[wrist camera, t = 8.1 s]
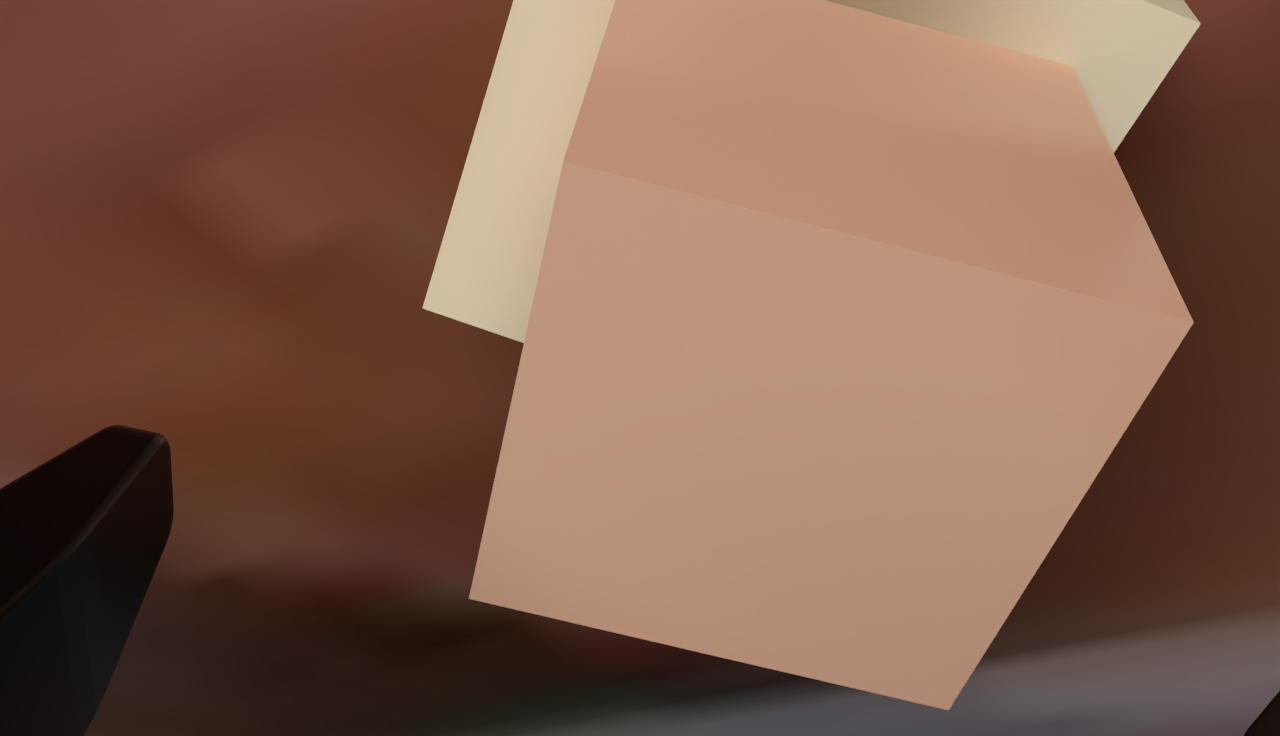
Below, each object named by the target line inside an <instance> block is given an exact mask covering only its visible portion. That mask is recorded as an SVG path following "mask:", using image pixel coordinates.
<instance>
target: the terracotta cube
mask: <svg viewBox="0 0 1280 736" xmlns="http://www.w3.org/2000/svg"><path fill="white" fill-rule="evenodd" d="M1193 323H1194V322H1193V320H1192V318H1191V316H1190V314H1189V312H1188V309H1187V307H1186V305H1185V303H1184V301H1183V299H1182V297H1181V295H1180V293H1179V290H1178V288H1177V286H1176V284H1175V282H1174V280H1173V278H1172V276H1171V274H1170V271H1169V269H1168V267H1167V265H1166V263H1165V261H1164V259H1163V257H1162V255H1161V252H1160V250H1159V248H1158V246H1157V244H1156V242H1155V240H1154V238H1153V236H1152V233H1151V231H1150V229H1149V227H1148V225H1147V223H1146V221H1145V219H1144V217H1143V214H1142V212H1141V210H1140V208H1139V206H1138V204H1137V202H1136V200H1135V198H1134V195H1133V193H1132V191H1131V189H1130V187H1129V185H1128V183H1127V181H1126V179H1125V176H1124V174H1123V172H1122V170H1121V168H1120V166H1119V164H1118V162H1117V160H1116V157H1115V155H1114V153H1113V151H1112V149H1111V147H1110V145H1109V143H1108V141H1107V138H1106V136H1105V134H1104V132H1103V130H1102V128H1101V126H1100V124H1099V122H1098V119H1097V117H1096V115H1095V113H1094V111H1093V109H1092V107H1091V105H1090V103H1089V100H1088V98H1087V96H1086V94H1085V92H1084V90H1083V88H1082V86H1081V84H1080V81H1079V79H1078V77H1077V75H1076V73H1075V71H1074V69H1073V67H1072V66H1069V65H1065V64H1062V63H1058V62H1054V61H1050V60H1047V59H1043V58H1039V57H1035V56H1032V55H1028V54H1024V53H1020V52H1017V51H1013V50H1009V49H1006V48H1002V47H998V46H994V45H991V44H987V43H983V42H979V41H976V40H972V39H968V38H964V37H961V36H957V35H953V34H949V33H946V32H942V31H938V30H934V29H931V28H927V27H923V26H919V25H916V24H912V23H908V22H905V21H901V20H897V19H893V18H890V17H886V16H882V15H878V14H875V13H871V12H867V11H863V10H860V9H856V8H852V7H848V6H845V5H841V4H837V3H833V2H830V1H826V0H615V3H614V6H613V9H612V12H611V16H610V19H609V22H608V25H607V28H606V31H605V34H604V37H603V40H602V43H601V46H600V49H599V53H598V56H597V59H596V62H595V65H594V68H593V71H592V74H591V77H590V80H589V83H588V86H587V89H586V93H585V96H584V99H583V102H582V105H581V108H580V111H579V114H578V117H577V120H576V123H575V126H574V130H573V133H572V136H571V139H570V142H569V145H568V148H567V151H566V154H565V157H564V160H563V165H562V169H561V174H560V179H559V183H558V188H557V192H556V197H555V202H554V206H553V211H552V216H551V220H550V225H549V230H548V234H547V239H546V243H545V248H544V253H543V257H542V262H541V267H540V271H539V276H538V281H537V285H536V290H535V294H534V299H533V304H532V308H531V313H530V318H529V322H528V327H527V332H526V336H525V341H524V346H523V350H522V355H521V359H520V364H519V369H518V373H517V378H516V383H515V387H514V392H513V397H512V401H511V406H510V410H509V415H508V420H507V424H506V429H505V434H504V438H503V443H502V448H501V452H500V457H499V461H498V466H497V471H496V475H495V480H494V485H493V489H492V494H491V499H490V503H489V508H488V513H487V517H486V522H485V526H484V531H483V536H482V540H481V545H480V550H479V554H478V559H477V564H476V568H475V573H474V577H473V582H472V587H471V591H470V596H469V599H473V600H477V601H481V602H485V603H490V604H494V605H498V606H503V607H507V608H511V609H515V610H520V611H524V612H528V613H533V614H537V615H541V616H546V617H550V618H554V619H558V620H563V621H567V622H571V623H576V624H580V625H584V626H589V627H593V628H597V629H601V630H606V631H610V632H614V633H619V634H623V635H627V636H631V637H636V638H640V639H644V640H649V641H653V642H657V643H662V644H666V645H670V646H674V647H679V648H683V649H687V650H692V651H696V652H700V653H704V654H709V655H713V656H717V657H722V658H726V659H730V660H735V661H739V662H743V663H747V664H752V665H756V666H760V667H765V668H769V669H773V670H778V671H782V672H786V673H790V674H795V675H799V676H803V677H808V678H812V679H816V680H820V681H825V682H829V683H833V684H838V685H842V686H846V687H851V688H855V689H859V690H863V691H868V692H872V693H876V694H881V695H885V696H889V697H893V698H898V699H902V700H906V701H911V702H915V703H919V704H924V705H928V706H932V707H936V708H941V709H945V710H949V709H950V707H951V706H952V704H953V702H954V701H955V699H956V698H957V696H958V695H959V693H960V691H961V690H962V688H963V687H964V685H965V683H966V682H967V680H968V679H969V677H970V676H971V674H972V672H973V671H974V669H975V668H976V666H977V664H978V663H979V661H980V660H981V658H982V657H983V655H984V653H985V652H986V650H987V649H988V647H989V645H990V644H991V642H992V641H993V639H994V638H995V636H996V634H997V633H998V631H999V630H1000V628H1001V626H1002V625H1003V623H1004V622H1005V620H1006V619H1007V617H1008V615H1009V614H1010V612H1011V611H1012V609H1013V608H1014V606H1015V604H1016V603H1017V601H1018V600H1019V598H1020V596H1021V595H1022V593H1023V592H1024V590H1025V589H1026V587H1027V585H1028V584H1029V582H1030V581H1031V579H1032V577H1033V576H1034V574H1035V573H1036V571H1037V570H1038V568H1039V566H1040V565H1041V563H1042V562H1043V560H1044V558H1045V557H1046V555H1047V554H1048V552H1049V551H1050V549H1051V547H1052V546H1053V544H1054V543H1055V541H1056V539H1057V538H1058V536H1059V535H1060V533H1061V532H1062V530H1063V528H1064V527H1065V525H1066V524H1067V522H1068V520H1069V519H1070V517H1071V516H1072V514H1073V513H1074V511H1075V509H1076V508H1077V506H1078V505H1079V503H1080V502H1081V500H1082V498H1083V497H1084V495H1085V494H1086V492H1087V490H1088V489H1089V487H1090V486H1091V484H1092V483H1093V481H1094V479H1095V478H1096V476H1097V475H1098V473H1099V471H1100V470H1101V468H1102V467H1103V465H1104V464H1105V462H1106V460H1107V459H1108V457H1109V456H1110V454H1111V452H1112V451H1113V449H1114V448H1115V446H1116V445H1117V443H1118V441H1119V440H1120V438H1121V437H1122V435H1123V433H1124V432H1125V430H1126V429H1127V427H1128V426H1129V424H1130V422H1131V421H1132V419H1133V418H1134V416H1135V415H1136V413H1137V411H1138V410H1139V408H1140V407H1141V405H1142V403H1143V402H1144V400H1145V399H1146V397H1147V396H1148V394H1149V392H1150V391H1151V389H1152V388H1153V386H1154V384H1155V383H1156V381H1157V380H1158V378H1159V377H1160V375H1161V373H1162V372H1163V370H1164V369H1165V367H1166V365H1167V364H1168V362H1169V361H1170V359H1171V358H1172V356H1173V354H1174V353H1175V351H1176V350H1177V348H1178V346H1179V345H1180V343H1181V342H1182V340H1183V339H1184V337H1185V335H1186V334H1187V332H1188V331H1189V329H1190V327H1191V326H1192V324H1193Z"/></svg>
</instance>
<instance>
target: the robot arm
mask: <svg viewBox="0 0 1280 736" xmlns="http://www.w3.org/2000/svg"><path fill="white" fill-rule="evenodd" d="M172 521H173V489H172V471H171V453H170V446H169V443H168V441H167V439H166V438H165V437H164V436H163V435H161V434H159V433H155V432H150V431H145V430H141V429H136V428H131V427H126V426H121V425H113V426H110V427H107V428H104V429H102V430H100V431H99V432H97V433H95V434H94V435H92V436H90V437H88V438H87V439H85V440H83V441H81V442H80V443H78V444H76V445H75V446H73V447H71V448H69V449H68V450H66V451H64V452H63V453H61V454H59V455H57V456H56V457H54V458H52V459H51V460H49V461H47V462H45V463H44V464H42V465H40V466H38V467H37V468H35V469H33V470H32V471H30V472H28V473H26V474H25V475H23V476H21V477H20V478H18V479H16V480H14V481H13V482H11V483H9V484H8V485H6V486H4V487H2V488H1V489H0V736H85V734H86V732H87V730H88V729H89V727H90V725H91V723H92V721H93V719H94V717H95V715H96V713H97V711H98V708H99V706H100V704H101V701H102V699H103V697H104V694H105V692H106V690H107V687H108V685H109V683H110V680H111V678H112V675H113V673H114V670H115V668H116V666H117V663H118V661H119V658H120V656H121V653H122V651H123V648H124V646H125V643H126V641H127V638H128V636H129V634H130V631H131V629H132V626H133V624H134V621H135V619H136V616H137V614H138V611H139V609H140V607H141V604H142V602H143V599H144V597H145V594H146V592H147V589H148V587H149V584H150V582H151V579H152V577H153V575H154V572H155V570H156V567H157V565H158V562H159V560H160V557H161V555H162V552H163V550H164V548H165V545H166V543H167V540H168V537H169V534H170V530H171V526H172ZM1244 736H1280V691H1279V692H1278V694H1277V695H1276V696H1275V697H1274V698H1273V700H1272V701H1271V702H1270V703H1269V704H1268V706H1267V707H1266V708H1265V709H1264V710H1263V711H1262V713H1261V714H1260V715H1259V716H1258V717H1257V719H1256V720H1255V721H1254V722H1253V723H1252V725H1251V726H1250V727H1249V728H1248V730H1247V731H1246V733H1245V735H1244Z"/></svg>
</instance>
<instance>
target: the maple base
mask: <svg viewBox="0 0 1280 736" xmlns="http://www.w3.org/2000/svg"><path fill="white" fill-rule="evenodd" d="M826 1H830V2H833V3H837V4H841V5H845V6H848V7H852V8H856V9H860V10H863V11H867V12H871V13H875V14H878V15H882V16H886V17H890V18H893V19H897V20H901V21H905V22H908V23H912V24H916V25H919V26H923V27H927V28H931V29H934V30H938V31H942V32H946V33H949V34H953V35H957V36H961V37H964V38H968V39H972V40H976V41H979V42H983V43H987V44H991V45H994V46H998V47H1002V48H1006V49H1009V50H1013V51H1017V52H1020V53H1024V54H1028V55H1032V56H1035V57H1039V58H1043V59H1047V60H1050V61H1054V62H1058V63H1062V64H1065V65H1069V66H1072V67H1073V69H1074V71H1075V73H1076V75H1077V77H1078V79H1079V81H1080V84H1081V86H1082V88H1083V90H1084V92H1085V94H1086V96H1087V98H1088V100H1089V103H1090V105H1091V107H1092V109H1093V111H1094V113H1095V115H1096V117H1097V119H1098V122H1099V124H1100V126H1101V128H1102V130H1103V132H1104V134H1105V136H1106V138H1107V141H1108V143H1109V145H1110V147H1111V149H1112V151H1113V153H1114V152H1115V150H1116V149H1117V148H1118V146H1119V145H1120V143H1121V142H1122V140H1123V139H1124V137H1125V136H1126V134H1127V133H1128V131H1129V130H1130V128H1131V127H1132V125H1133V124H1134V122H1135V121H1136V119H1137V118H1138V116H1139V115H1140V113H1141V112H1142V110H1143V109H1144V107H1145V106H1146V104H1147V103H1148V101H1149V100H1150V98H1151V97H1152V95H1153V94H1154V92H1155V91H1156V90H1157V88H1158V87H1159V85H1160V84H1161V82H1162V81H1163V79H1164V78H1165V76H1166V75H1167V73H1168V72H1169V70H1170V69H1171V67H1172V66H1173V64H1174V63H1175V61H1176V60H1177V58H1178V57H1179V55H1180V54H1181V52H1182V51H1183V49H1184V48H1185V46H1186V45H1187V43H1188V42H1189V40H1190V39H1191V37H1192V36H1193V34H1194V33H1195V31H1196V30H1197V29H1198V27H1199V26H1200V22H1199V21H1198V19H1197V18H1196V17H1195V15H1194V14H1193V13H1192V11H1191V10H1190V8H1189V7H1188V6H1187V4H1186V3H1185V1H1184V0H826ZM614 3H615V0H514V1H513V4H512V8H511V11H510V14H509V18H508V21H507V24H506V28H505V31H504V35H503V38H502V41H501V45H500V48H499V52H498V55H497V58H496V62H495V65H494V68H493V72H492V75H491V79H490V82H489V85H488V89H487V92H486V95H485V99H484V102H483V106H482V109H481V112H480V116H479V119H478V122H477V126H476V129H475V133H474V136H473V139H472V143H471V146H470V149H469V153H468V156H467V160H466V163H465V166H464V170H463V173H462V176H461V180H460V183H459V187H458V190H457V193H456V197H455V200H454V204H453V207H452V210H451V214H450V217H449V220H448V224H447V227H446V231H445V234H444V237H443V241H442V244H441V247H440V251H439V254H438V258H437V261H436V264H435V268H434V271H433V274H432V278H431V281H430V285H429V288H428V291H427V295H426V298H425V301H424V305H423V309H426V310H429V311H432V312H435V313H438V314H441V315H444V316H446V317H449V318H452V319H455V320H458V321H461V322H464V323H467V324H470V325H473V326H476V327H479V328H481V329H484V330H487V331H490V332H493V333H496V334H499V335H502V336H505V337H508V338H511V339H514V340H516V341H519V342H522V343H524V341H525V336H526V332H527V327H528V322H529V318H530V313H531V308H532V304H533V299H534V294H535V290H536V285H537V281H538V276H539V271H540V267H541V262H542V257H543V253H544V248H545V243H546V239H547V234H548V230H549V225H550V220H551V216H552V211H553V206H554V202H555V197H556V192H557V188H558V183H559V179H560V174H561V169H562V165H563V160H564V157H565V154H566V151H567V148H568V145H569V142H570V139H571V136H572V133H573V130H574V126H575V123H576V120H577V117H578V114H579V111H580V108H581V105H582V102H583V99H584V96H585V93H586V89H587V86H588V83H589V80H590V77H591V74H592V71H593V68H594V65H595V62H596V59H597V56H598V53H599V49H600V46H601V43H602V40H603V37H604V34H605V31H606V28H607V25H608V22H609V19H610V16H611V12H612V9H613V6H614Z"/></svg>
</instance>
